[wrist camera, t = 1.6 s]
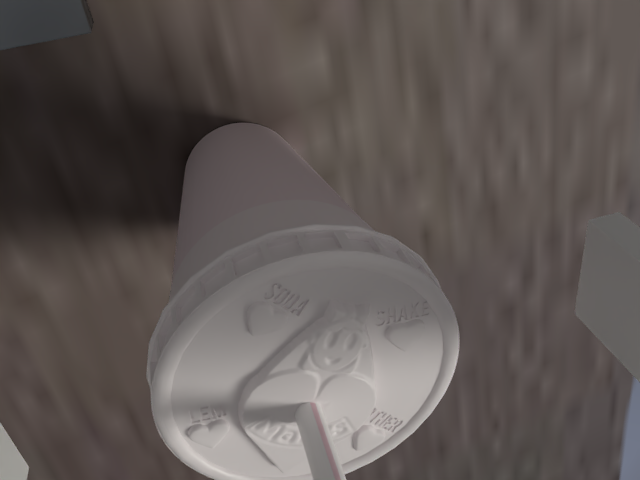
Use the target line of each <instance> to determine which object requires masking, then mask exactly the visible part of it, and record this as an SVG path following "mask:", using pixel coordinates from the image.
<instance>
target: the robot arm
mask: <svg viewBox="0 0 640 480" xmlns="http://www.w3.org/2000/svg"><path fill="white" fill-rule="evenodd" d="M575 315H576V316H577V317H578V318H579V319H580V320H581V321H582V322H583V323H584V324H585V325H586V326H587V327H588V328H589V329H590V330H591V331H592V333H593V334H594V335H595V336H596V337H597V338H598V339H599V340H600V341H601V342H602V343H603V344H604V345H605V346H606V347H607V348H608V349H609V350H610V351H611V353H612V354H613V355H614V356H615V357H616V358H617V359H618V360H619V361H620V362H621V363H622V364H623V365H624V366H625V367H626V368H627V369H628V370H629V371H630V372H631V374H632V375H633V376H634V377H635V378H636V379H637V380H638V381H639V382H640V227H639V226H637V225H636V224H635V223H633V222H632V221H631V220H629V219H628V218H627V217H625V216H624V215H623V214H621V213H620V212H618V213H614V214H610V215H606V216H602V217H598V218H594V219H591V220H588V226H587V233H586V240H585V246H584V253H583V260H582V266H581V273H580V280H579V287H578V293H577V300H576V307H575ZM28 470H29V467H28V465H27V463H26V462H25V460H24V459H23V457H22V456H21V454H20V453H19V451H18V449H17V448H16V446H15V445H14V443H13V442H12V440H11V439H10V437H9V435H8V434H7V432H6V431H5V429H4V428H3V426H2V425H1V423H0V480H27V475H28Z"/></svg>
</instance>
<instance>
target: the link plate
mask: <svg viewBox="0 0 640 480" xmlns="http://www.w3.org/2000/svg"><path fill="white" fill-rule="evenodd" d="M93 23H94V22H93V19H92V16H91V13H90V10H89V6H88V3H87V0H0V50H4V49H9V48H14V47H19V46H25V45H30V44H35V43H40V42H46V41H51V40H56V39H61V38H67V37H72V36H77V35H82V34H88V33H91V32H92V27H93Z"/></svg>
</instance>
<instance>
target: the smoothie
mask: <svg viewBox="0 0 640 480" xmlns="http://www.w3.org/2000/svg"><path fill="white" fill-rule="evenodd" d="M459 340H460V338H459V328H458V323H457V319H456V316H455V313H454V310H453V308H452V306H451V304H450V302H449V300H448V299H447V297H446V295H445V294H444V293H443V291H442V290H441V288H440V284H439V281H438V280H437V278H436V277H435V275H434V274H433V273H432V271H431V270H430V268H429V267H428V266H427V264H426V263H425V261H424V260H423V259H422V257H421V256H420V255H418V254H417V253H415V252H414V251H412V250H411V249H410V248H408V247H407V246H405V245H404V244H403V243H401V242H400V241H398V240H397V239H395V238H394V237H392V236H389V235H386V234H382V233H379V232H376V231H374V230H373V229H372V228H371V227H370V226H369V225H368V224H367V223H366V222H365V221H363V220H362V218H361V217H360V216H359V215H358V214H357V213H356V212H355V211H354V210H353V209H352V208H351V207H350V206H349V205H348V204H347V203H346V202H345V201H344V200H343V199H342V198H341V197H340V196H339V195H338V194H337V193H336V192H335V191H334V190H333V189H332V188H331V187H330V186H329V185H328V184H327V183H326V182H325V181H324V180H323V179H322V178H321V177H320V176H319V175H318V174H317V173H316V171H315V170H314V169H313V168H312V167H311V166H310V165H309V164H308V163H307V162H306V161H305V160H304V159H303V158H302V157H301V156H300V155H299V154H298V153H297V152H296V151H295V150H294V149H293V148H292V147H291V146H290V145H289V144H288V143H287V142H286V141H285V140H284V139H283V138H282V137H281V136H280V135H279V134H278V133H276V132H275V131H273V130H271V129H269V128H267V127H265V126H262V125H259V124H254V123H233V124H228V125H225V126H222V127H219V128H217V129H215V130H213V131H212V132H210V133H208V134H207V135H206V136H204V137H203V138H202V139H201V140H200V141H199V142H198V143H197V144H196V146H195V147H194V148H193V150H192V152H191V153H190V155H189V158H188V160H187V163H186V167H185V174H184V182H183V191H182V199H181V208H180V216H179V225H178V233H177V242H176V250H175V259H174V267H173V276H172V284H171V291H170V296H169V303H168V304H167V305H166V306H165V308H164V309H163V311H162V314H161V316H160V318H159V321H158V323H157V325H156V328H155V330H154V332H153V334H152V337H151V339H150V341H149V348H148V361H147V374H146V377H147V380H148V383H149V387H150V390H151V407H152V414H153V418H154V422H155V425H156V427H157V430H158V432H159V434H160V436H161V438H162V439H163V441H164V443H165V444H166V445H167V447H168V448H169V449H170V450H171V452H172V453H173V454H174V455H175V456H176V457H177V458H178V459H180V460H181V461H182V462H183V463H185V464H186V465H187V466H189V467H190V468H192V469H194V470H195V471H197V472H199V473H201V474H203V475H205V476H207V477H210V478H212V479H215V480H346V478H345V475H344V474H347V473H350V472H352V471H354V470H356V469H358V468H360V467H362V466H364V465H367V464H369V463H371V462H373V461H374V460H376V459H378V458H379V457H381V456H382V455H384V454H386V453H387V452H389V451H390V450H392V449H394V448H395V447H396V446H397V445H399V444H400V443H401V442H402V441H404V440H405V439H406V438H407V437H408V436H410V435H411V434H412V433H413V432H414V431H415V430H416V429H417V428H418V427H419V426H420V425H421V424H422V423H423V422H424V421H425V420H426V419H427V417H428V416H429V415H430V414H431V413H432V412H433V410H434V409H435V407H436V406H437V404H438V403H439V401H440V400H441V398H442V397H443V395H444V394H445V392H446V390H447V388H448V386H449V384H450V382H451V379H452V376H453V374H454V371H455V368H456V364H457V360H458V354H459Z"/></svg>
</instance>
